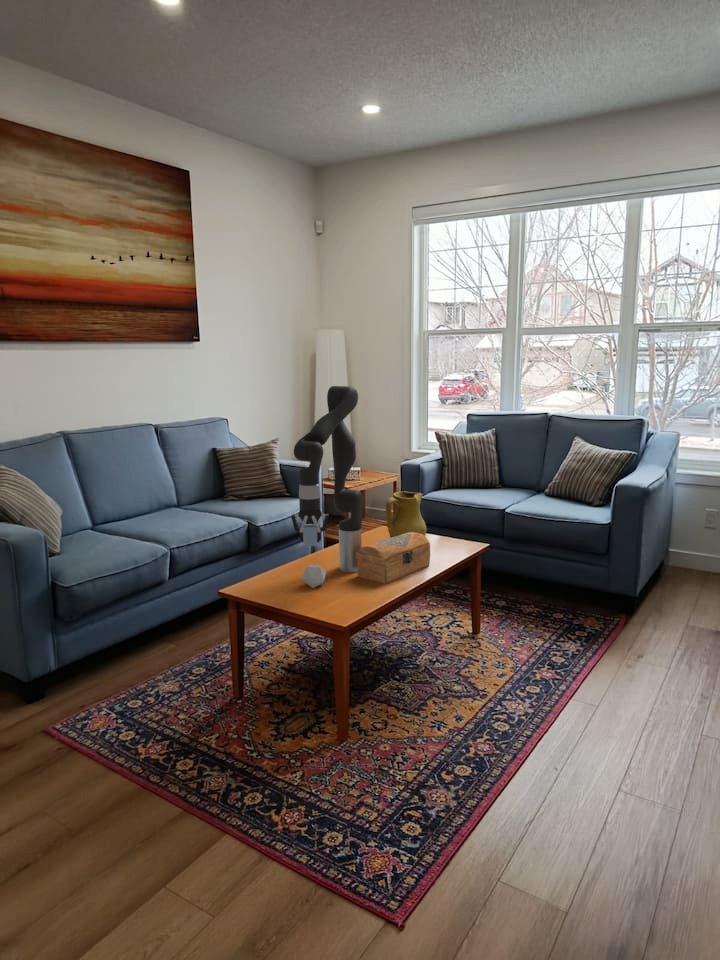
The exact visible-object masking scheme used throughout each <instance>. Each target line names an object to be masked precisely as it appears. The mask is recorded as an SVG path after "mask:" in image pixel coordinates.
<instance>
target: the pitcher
mask: <svg viewBox="0 0 720 960" xmlns="http://www.w3.org/2000/svg"><path fill="white" fill-rule="evenodd" d="M423 496H424V494H423V493H421V492H412V491H406V490H404V491H395V492H394V493H393V497H389V498H387V500H386V502H385V517H386V518H385V519H386V523H387V524H386V527H387V530H388V531H387V532H388V533H389V534H388V535H389V538H392V537H395V536H399V535H402V534H405V533H409V532H415V533H419V534H422V535H424V536H425V537H426V533H427V529H428V528H427V525H426V522H425V520H424V518H423V517H422V513H421V502H422V497H423ZM393 504H395V509H394V514H393V516H392V509H393Z"/></svg>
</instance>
